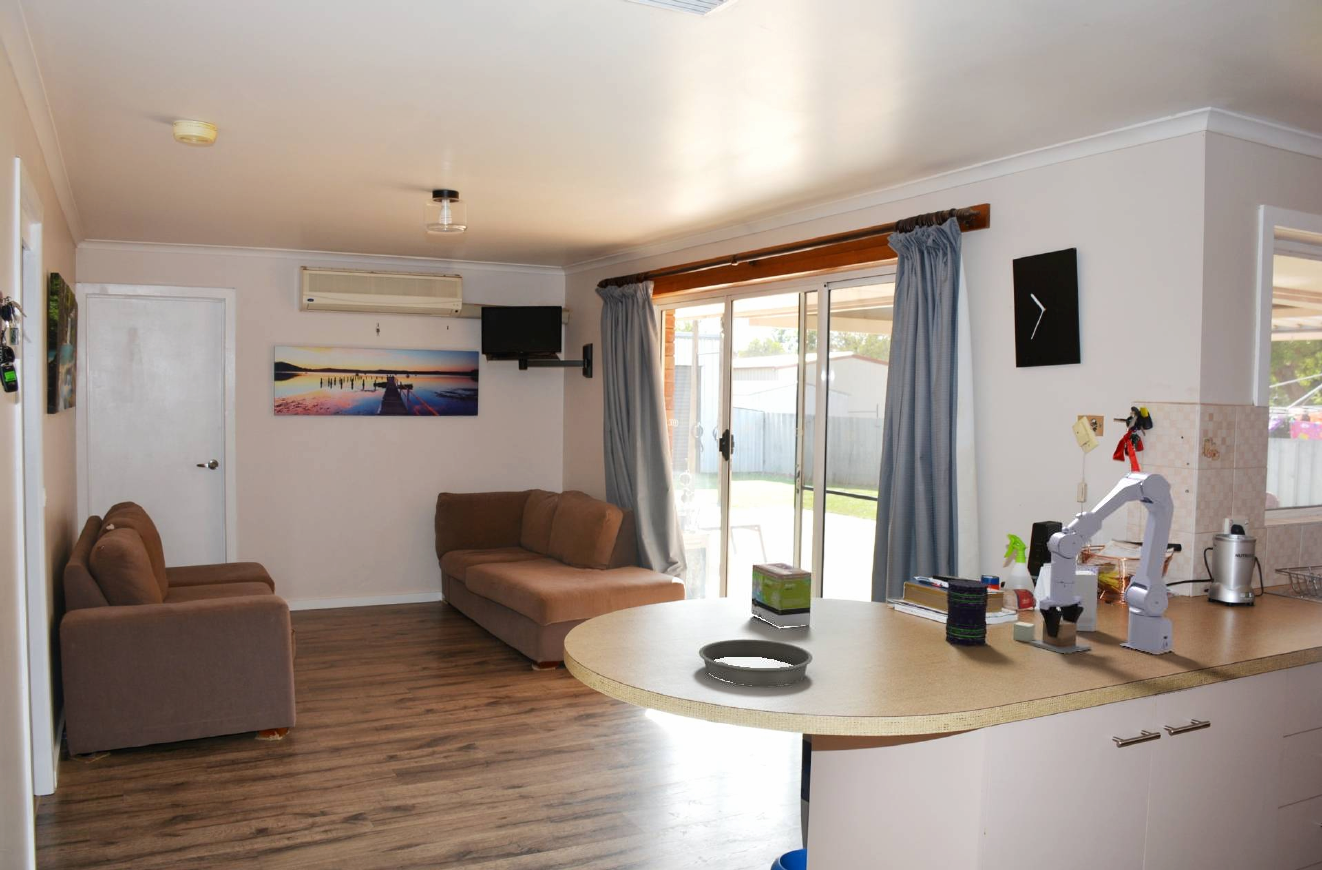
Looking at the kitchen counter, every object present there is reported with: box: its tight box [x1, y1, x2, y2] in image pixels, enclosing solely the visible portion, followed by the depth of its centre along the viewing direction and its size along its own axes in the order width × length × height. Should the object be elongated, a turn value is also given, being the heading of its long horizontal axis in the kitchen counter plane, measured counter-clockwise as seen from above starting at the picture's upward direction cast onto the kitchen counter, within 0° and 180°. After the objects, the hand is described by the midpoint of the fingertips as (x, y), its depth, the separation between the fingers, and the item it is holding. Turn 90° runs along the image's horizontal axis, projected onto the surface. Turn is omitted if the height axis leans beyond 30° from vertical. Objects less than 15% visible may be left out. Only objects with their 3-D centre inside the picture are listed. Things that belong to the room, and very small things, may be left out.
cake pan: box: [698, 638, 813, 687], centre depth 206 cm, size 25×25×4 cm
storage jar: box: [945, 578, 989, 648], centre depth 238 cm, size 10×10×15 cm
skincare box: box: [1058, 570, 1099, 632], centre depth 256 cm, size 8×7×16 cm
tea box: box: [750, 562, 812, 627], centre depth 255 cm, size 15×10×15 cm, turn 25°
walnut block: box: [1041, 619, 1077, 648], centre depth 236 cm, size 6×6×6 cm
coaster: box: [1029, 639, 1092, 655], centre depth 236 cm, size 10×10×1 cm
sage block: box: [1012, 621, 1036, 643], centre depth 243 cm, size 4×4×4 cm
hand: (1060, 635), depth 236 cm, fingers closed on walnut block, 5 cm apart
